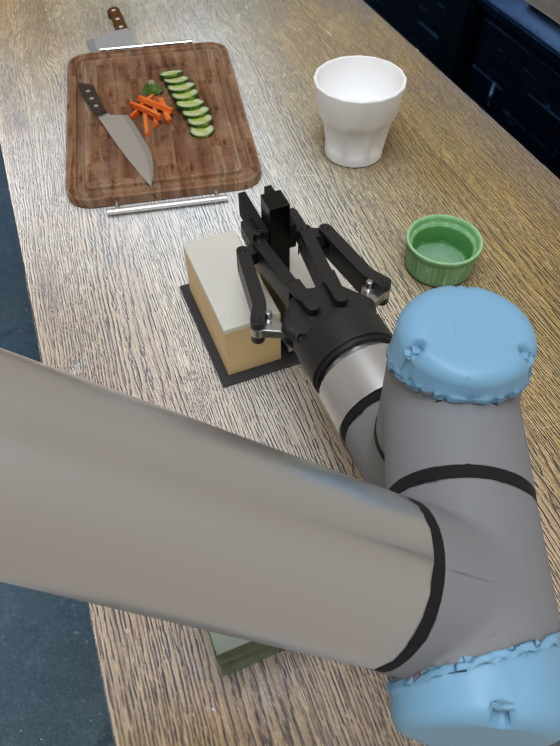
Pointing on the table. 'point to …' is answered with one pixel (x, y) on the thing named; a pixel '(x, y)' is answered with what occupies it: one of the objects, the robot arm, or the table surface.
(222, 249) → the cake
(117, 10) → the kitchen cleaver
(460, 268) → the ramekin
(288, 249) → the black-handled knife
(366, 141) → the cup
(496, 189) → the table surface
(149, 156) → the chopping board
